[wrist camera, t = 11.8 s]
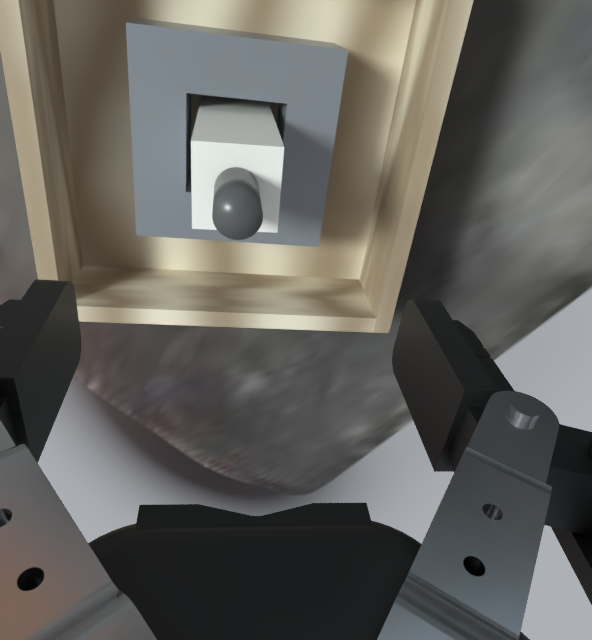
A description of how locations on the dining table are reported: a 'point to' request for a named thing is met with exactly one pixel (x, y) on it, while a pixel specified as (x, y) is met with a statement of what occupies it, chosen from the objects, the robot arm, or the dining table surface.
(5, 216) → the dining table surface
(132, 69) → the block
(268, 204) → the plug
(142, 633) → the robot arm
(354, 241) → the walled box
